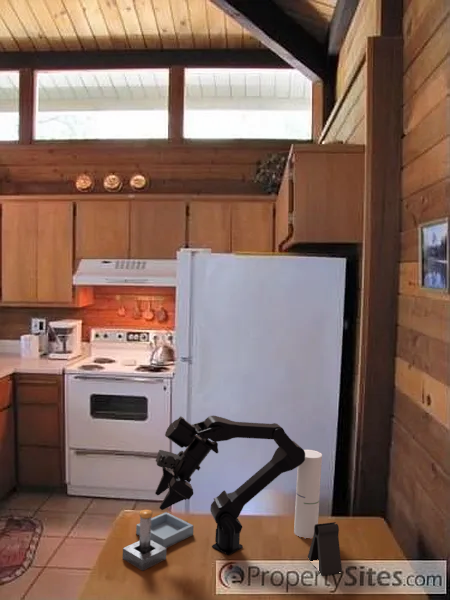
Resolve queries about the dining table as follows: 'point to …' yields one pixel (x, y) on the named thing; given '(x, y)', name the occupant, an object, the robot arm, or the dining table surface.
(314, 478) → the cylindrical container
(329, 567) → the phone stand
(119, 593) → the dining table surface
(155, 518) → the tray
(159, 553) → the pin collar
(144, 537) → the pin
